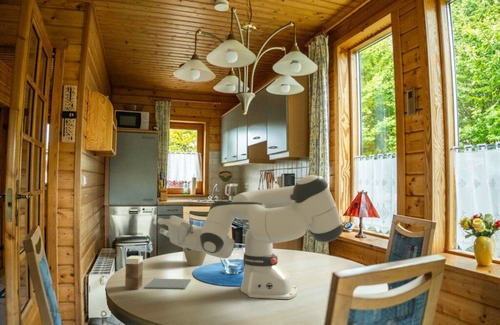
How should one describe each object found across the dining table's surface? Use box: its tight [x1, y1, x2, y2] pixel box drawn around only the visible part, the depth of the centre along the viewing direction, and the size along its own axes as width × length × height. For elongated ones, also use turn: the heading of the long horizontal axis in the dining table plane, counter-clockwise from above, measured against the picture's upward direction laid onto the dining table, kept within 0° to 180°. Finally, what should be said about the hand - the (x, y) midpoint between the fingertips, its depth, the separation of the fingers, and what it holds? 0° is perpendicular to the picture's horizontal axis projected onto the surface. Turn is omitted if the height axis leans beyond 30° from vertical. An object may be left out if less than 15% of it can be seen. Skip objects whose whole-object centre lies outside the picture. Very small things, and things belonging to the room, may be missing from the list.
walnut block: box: [124, 255, 144, 291], centre depth 134 cm, size 5×5×12 cm
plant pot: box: [183, 248, 207, 267], centre depth 171 cm, size 15×15×16 cm
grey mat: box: [144, 278, 191, 290], centre depth 138 cm, size 16×11×1 cm
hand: (159, 225), depth 129 cm, fingers open, 8 cm apart
